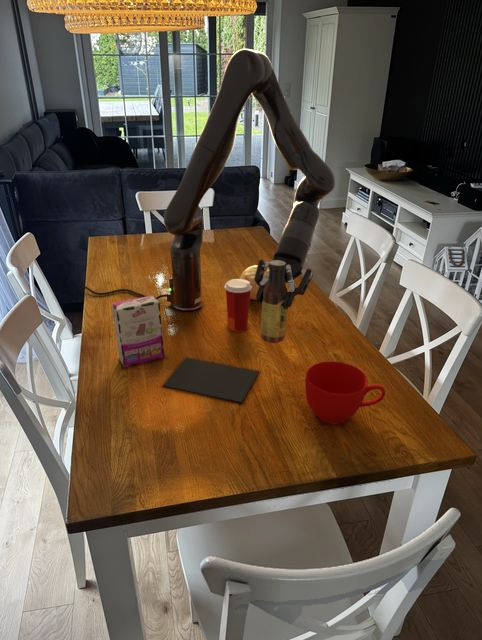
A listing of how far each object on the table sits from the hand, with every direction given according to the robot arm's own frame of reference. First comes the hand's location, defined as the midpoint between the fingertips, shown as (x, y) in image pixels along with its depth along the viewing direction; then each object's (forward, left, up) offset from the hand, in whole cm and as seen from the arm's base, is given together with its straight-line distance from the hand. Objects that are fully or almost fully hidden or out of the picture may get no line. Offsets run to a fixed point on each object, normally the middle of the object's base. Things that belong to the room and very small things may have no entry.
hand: (272, 304), depth 117 cm
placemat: (-12, -11, -18) cm, 24 cm away
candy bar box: (-33, -8, -18) cm, 38 cm away
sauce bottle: (0, +2, -10) cm, 10 cm away
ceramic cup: (+20, -15, -18) cm, 31 cm away
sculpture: (-16, +42, -18) cm, 49 cm away
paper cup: (-15, +18, -18) cm, 29 cm away
